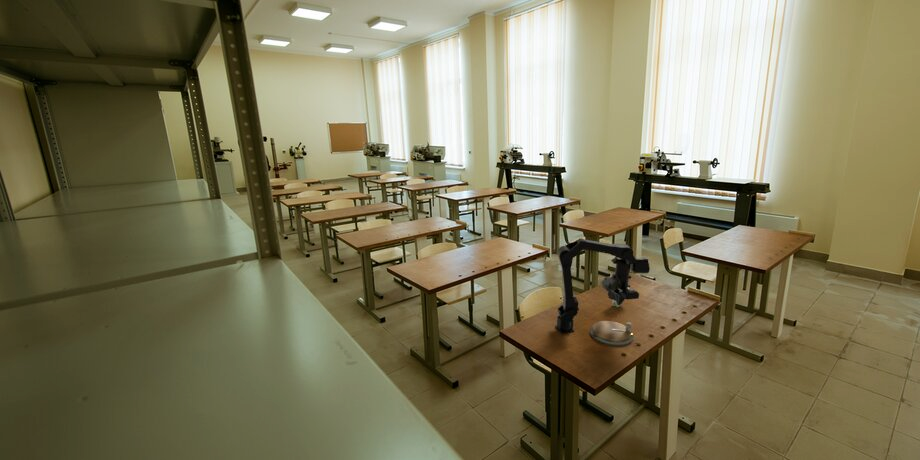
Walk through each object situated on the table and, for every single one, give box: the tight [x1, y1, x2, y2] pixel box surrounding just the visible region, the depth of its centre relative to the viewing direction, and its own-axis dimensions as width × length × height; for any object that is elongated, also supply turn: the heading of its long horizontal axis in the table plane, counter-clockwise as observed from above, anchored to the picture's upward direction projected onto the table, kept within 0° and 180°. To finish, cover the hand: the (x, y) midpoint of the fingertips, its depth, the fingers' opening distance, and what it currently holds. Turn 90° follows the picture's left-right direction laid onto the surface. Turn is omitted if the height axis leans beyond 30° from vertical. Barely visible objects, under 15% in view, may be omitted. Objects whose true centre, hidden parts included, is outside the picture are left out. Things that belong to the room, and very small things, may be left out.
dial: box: [592, 320, 633, 342], centre depth 172 cm, size 16×16×5 cm
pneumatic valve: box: [607, 290, 622, 308], centre depth 198 cm, size 6×12×12 cm, turn 129°
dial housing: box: [589, 325, 634, 347], centre depth 173 cm, size 18×18×1 cm
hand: (618, 305), depth 173 cm, fingers closed
